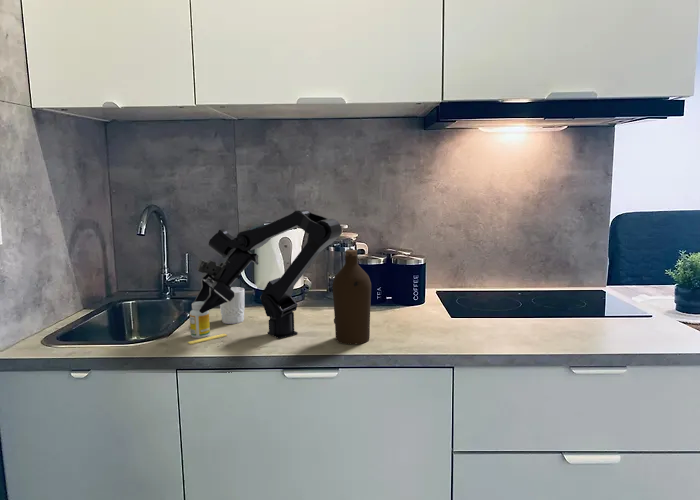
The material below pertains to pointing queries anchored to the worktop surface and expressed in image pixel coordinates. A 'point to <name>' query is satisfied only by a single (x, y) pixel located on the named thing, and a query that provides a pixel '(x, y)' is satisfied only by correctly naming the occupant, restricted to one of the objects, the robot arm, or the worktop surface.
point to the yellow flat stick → (207, 339)
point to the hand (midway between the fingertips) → (197, 308)
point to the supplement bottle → (199, 321)
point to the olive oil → (352, 302)
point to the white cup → (233, 307)
